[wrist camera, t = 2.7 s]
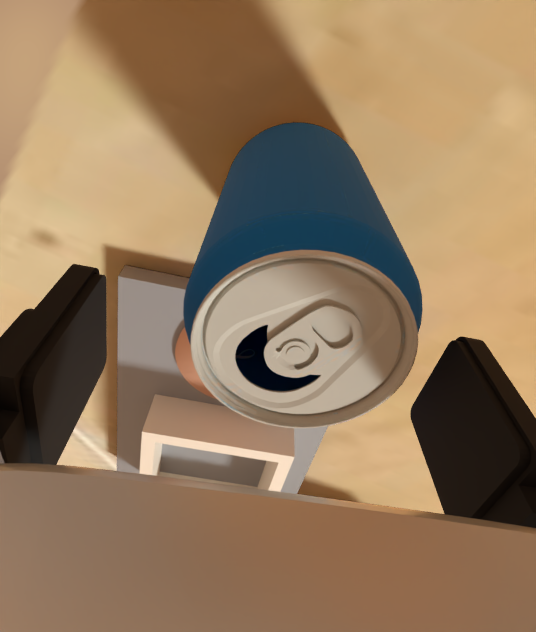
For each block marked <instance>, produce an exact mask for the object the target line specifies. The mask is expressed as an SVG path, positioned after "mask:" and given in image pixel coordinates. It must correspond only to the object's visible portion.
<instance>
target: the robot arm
mask: <svg viewBox="0 0 536 632" xmlns="http://www.w3.org/2000/svg"><path fill="white" fill-rule="evenodd" d="M106 355H107V350H106V277H105V275H99V270H98V269H97V268H93V267H88V266H82V265H77V264H73V265H72V266H71V267H70V268H69V269H68V270H67V271H66V272H65V274H64V275H63V276H62V277H61V278H60V280H59V281H58V282H57V283H56V284H55V285H54V287H53V288H52V289H51V290H50V291H49V293H48V294H47V295H46V296H45V297H44V298H43V300H42V301H41V302H40V303H39V304H38V306H37V307H36V308H35V309H27V310H25V311H24V312H22V313H21V314H20V316H19V317H18V318H17V319H16V320H15V321H14V322H13V323H12V325H11V326H10V327H9V328H8V329H7V330H6V331H5V333H4V334H3V335H2V336H1V337H0V632H536V418H535V417H534V415H533V414H532V412H531V411H530V409H529V408H528V406H527V405H526V403H525V402H524V400H523V399H522V397H521V396H520V395H519V393H518V392H517V390H516V389H515V387H514V386H513V384H512V383H511V381H510V380H509V378H508V377H507V375H506V374H505V372H504V371H503V369H502V368H501V366H500V365H499V363H498V362H497V360H496V359H495V357H494V356H493V355H492V353H491V352H490V350H489V349H488V347H487V346H486V344H485V343H484V342H483V341H481V340H477V339H472V338H467V337H459V338H457V339H456V340H454V341H451V342H450V343H449V344H448V346H447V348H446V349H445V351H444V353H443V355H442V356H441V358H440V360H439V361H438V363H437V365H436V366H435V368H434V370H433V372H432V373H431V375H430V377H429V378H428V380H427V382H426V384H425V385H424V387H423V389H422V390H421V392H420V394H419V395H418V397H417V399H416V401H415V402H414V404H413V406H412V408H411V420H412V423H413V426H414V429H415V432H416V434H417V437H418V440H419V443H420V446H421V448H422V451H423V454H424V457H425V460H426V463H427V465H428V468H429V471H430V474H431V477H432V479H433V482H434V485H435V488H436V491H437V494H438V496H439V499H440V502H441V505H442V508H443V510H444V513H445V514H438V513H431V512H424V511H417V510H410V509H403V508H396V507H389V506H382V505H374V504H367V503H359V502H352V501H345V500H337V499H330V498H323V497H315V496H308V495H300V494H293V493H285V492H278V491H270V490H263V489H256V488H248V487H240V486H232V485H225V484H217V483H209V482H201V481H194V480H186V479H178V478H171V477H163V476H155V475H147V474H138V473H130V472H121V471H112V470H103V469H94V468H86V467H77V466H64V465H56V464H57V462H58V460H59V458H60V456H61V454H62V452H63V450H64V448H65V446H66V444H67V442H68V440H69V438H70V436H71V434H72V432H73V430H74V428H75V426H76V424H77V422H78V420H79V418H80V416H81V414H82V412H83V410H84V408H85V406H86V404H87V402H88V399H89V397H90V395H91V393H92V391H93V389H94V387H95V385H96V383H97V381H98V379H99V377H100V375H101V373H102V371H103V369H104V366H105V363H106Z"/></svg>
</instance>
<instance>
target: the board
mask: <svg viewBox="0 0 536 632" xmlns="http://www.w3.org/2000/svg"><path fill="white" fill-rule="evenodd" d="M189 279H190V278H186V277H181V276H176V275H171V274H166V273H162V272H157V271H152V270H147V269H142V268H137V267H132V266H127V265H125V266H124V268H123V269H122V271H121V272H120V274H119V276H118V368H117V471H121V472H130V473H138V474H147V475H155V476H163V477H171V478H178V479H186V480H194V481H201V482H209V483H217V484H225V485H232V486H240V487H248V488H256V489H263V490H270V491H278V492H285V493H293V494H297V493H298V491H299V488H300V486H301V484H302V482H303V480H304V478H305V475H306V473H307V471H308V469H309V467H310V464H311V462H312V460H313V458H314V456H315V454H316V451H317V449H318V447H319V445H320V443H321V440H322V438H323V436H324V434H325V432H326V430H327V427H328V426H325V427H318V428H285V427H277V426H272V425H268V424H264V423H261V422H257V421H254V420H252V419H249V418H247V417H244V416H242V415H240V414H238V413H236V412H235V411H233V410H231V409H230V408H228V407H227V406H225V405H224V404H222V403H221V402H220V401H219V400H218V399H217V398H215V397H214V396H213V395H212V394H211V392H210V391H209V390H208V389H207V388H206V387H205V385H204V384H203V382H202V381H201V379H200V378H199V376H198V373H197V371H196V369H195V367H194V363H193V360H192V356H191V348H190V343H189V340H188V337H187V333H186V330H185V324H184V316H183V306H184V296H185V291H186V287H187V284H188V281H189Z"/></svg>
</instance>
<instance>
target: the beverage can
mask: <svg viewBox="0 0 536 632" xmlns="http://www.w3.org/2000/svg"><path fill="white" fill-rule="evenodd" d="M183 316H184V324H185V330H186V333H187V337H188V340H189V343H190V348H191V356H192V360H193V363H194V367H195V369H196V371H197V373H198V376H199V378H200V379H201V381H202V382H203V384H204V385H205V387H206V388H207V389H208V390H209V391H210V392H211V394H212V395H213V396H214V397H215V398H217V399H218V400H219V401H220V402H221V403H222V404H224V405H225V406H227V407H228V408H230V409H231V410H233V411H235V412H236V413H238V414H240V415H242V416H244V417H247V418H249V419H252V420H254V421H257V422H261V423H264V424H268V425H272V426H277V427H285V428H318V427H325V426H331V425H335V424H339V423H343V422H346V421H349V420H352V419H354V418H357V417H359V416H361V415H364V414H365V413H367V412H369V411H371V410H373V409H374V408H376V407H377V406H379V405H380V404H382V403H383V402H384V401H386V400H387V399H388V398H389V397H390V396H391V395H392V394H394V393H395V392H396V390H397V389H398V388H399V387H400V386H401V385H402V383H403V382H404V380H405V379H406V377H407V376H408V374H409V372H410V370H411V368H412V366H413V364H414V361H415V357H416V354H417V347H418V332H419V328H420V325H421V318H422V294H421V290H420V285H419V281H418V279H417V276H416V274H415V271H414V269H413V267H412V265H411V263H410V261H409V259H408V257H407V255H406V253H405V251H404V249H403V247H402V245H401V243H400V241H399V239H398V237H397V235H396V233H395V231H394V229H393V227H392V225H391V223H390V221H389V219H388V217H387V215H386V213H385V211H384V209H383V207H382V205H381V203H380V201H379V199H378V197H377V195H376V193H375V191H374V189H373V187H372V185H371V184H370V182H369V180H368V178H367V176H366V174H365V172H364V170H363V168H362V166H361V164H360V162H359V160H358V158H357V156H356V155H355V153H354V151H353V150H352V149H351V148H350V146H349V145H348V144H347V143H346V142H345V141H344V140H343V139H342V138H340V137H339V136H338V135H336V134H335V133H333V132H332V131H330V130H328V129H325V128H323V127H320V126H317V125H314V124H308V123H286V124H281V125H277V126H274V127H271V128H269V129H267V130H264V131H263V132H261V133H259V134H258V135H256V136H255V137H254V138H252V139H251V140H250V141H249V142H248V143H247V144H246V145H245V146H244V147H243V148H242V149H241V150H240V152H239V153H238V155H237V156H236V158H235V159H234V161H233V163H232V165H231V168H230V171H229V173H228V176H227V179H226V181H225V184H224V187H223V190H222V192H221V195H220V198H219V200H218V203H217V206H216V208H215V211H214V214H213V216H212V219H211V222H210V225H209V227H208V230H207V233H206V235H205V238H204V241H203V243H202V246H201V249H200V252H199V254H198V257H197V260H196V262H195V265H194V268H193V270H192V273H191V276H190V279H189V281H188V284H187V287H186V291H185V296H184V306H183Z"/></svg>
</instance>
